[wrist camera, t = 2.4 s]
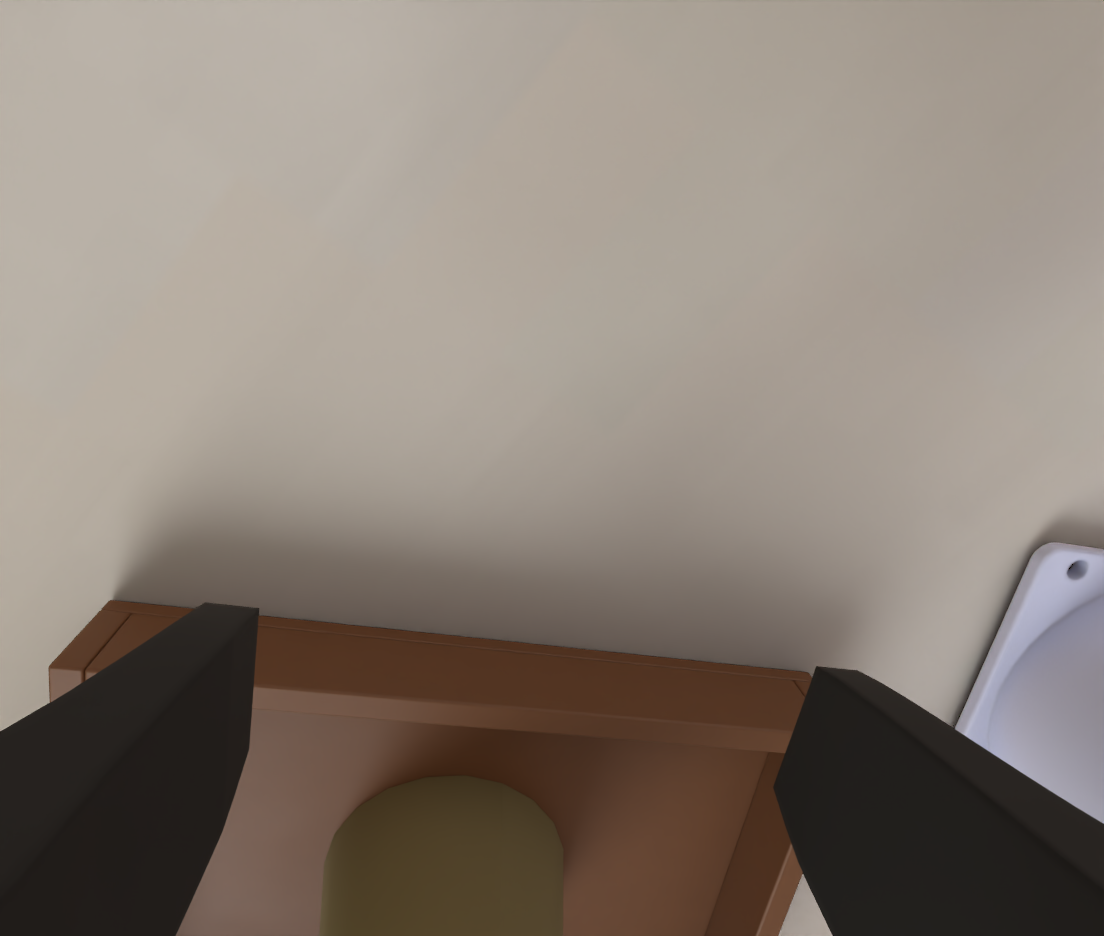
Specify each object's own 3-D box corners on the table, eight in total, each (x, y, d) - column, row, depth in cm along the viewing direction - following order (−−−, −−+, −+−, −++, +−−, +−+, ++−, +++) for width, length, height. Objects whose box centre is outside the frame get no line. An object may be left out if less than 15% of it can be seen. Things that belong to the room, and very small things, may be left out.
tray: (808, 671, 18) (857, 737, 16) (679, 1033, 22) (703, 1127, 20) (109, 598, 15) (47, 666, 13) (110, 1027, 19) (64, 1134, 17)
